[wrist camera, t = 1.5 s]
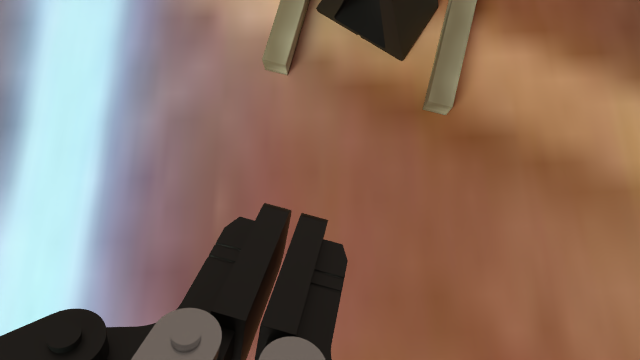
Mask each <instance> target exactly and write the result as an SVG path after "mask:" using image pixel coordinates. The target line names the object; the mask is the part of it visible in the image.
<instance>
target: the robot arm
mask: <svg viewBox="0 0 640 360" xmlns="http://www.w3.org/2000/svg"><path fill="white" fill-rule="evenodd" d="M290 217H291V210H288V209H285V208H281V207H277V206H274V205H270V204H266V203H264V204H263V206H262V208H261V210H260V212H259V214H258V216H257V218H256V220H255V221H254V220H250V219H246V218H243V217H239V218H237V219H236V220H234V221H233V222H232V223H230V224H229V225H227V226H226V227H225V228H224V230H223V231H222V233H221V235H220V237H219V238H218V240H217V242H216V245H214V247H213V249H212V251H211V252H210V254H209V257H208V258H207V259H206V261H205V263H204V265H203V266H202V268H201V270H200V272H199V273H198V275H197V277H196V279H195V280H194V282H193V284H192V285H191V287H190V289H189V291H188V292H187V294H186V296H185V298H184V299H183V301H182V303H181V304H180V306H179V307H178V308H177V309H176V310H175V311H172V312H170V313H168V314H166V315H165V316H163V317H162V318H161V319H160V320H159V321H158V322H157V323H154V324H151V325H146V326H139V327H106V326H105V323H104V321H103V320H102V318H101V317H100V316H99V315H97V314H96V313H94V312H92V311H89V310H85V309H67V310H63V311H59V312H56V313H54V314H51V315H49V316H46V317H44V318H42V319H39V320H37V321H35V322H32V323H30V324H28V325H26V326H23V327H21V328H19V329H16V330H14V331H12V332H9V333H7V334H5V335H2V336H0V360H246V358H247V356H248V353H249V350H250V348H251V345H252V342H253V339H254V337H255V334H256V331H257V329H258V326H259V323H260V320H261V318H262V315H263V312H264V310H265V307H266V304H267V301H268V299H269V296H270V293H271V291H272V288H273V285H274V282H275V280H276V277H277V274H278V271H279V268H280V265H281V262H282V258H283V254H284V249H285V244H286V238H287V233H288V228H289V223H290ZM327 222H328V220H326V219H322V218H319V217H315V216H311V215H307V214H304V213H301V216H300V218H299V221H298V224H297V226H296V229H295V232H294V235H293V237H292V240H291V243H290V246H289V248H288V251H287V254H286V257H285V259H284V262H283V265H282V268H281V270H280V273H279V276H278V279H277V281H276V284H275V287H274V290H273V292H272V295H271V298H270V301H269V303H268V306H267V309H266V312H265V314H264V317H263V320H262V323H261V326H260V332H259V338H258V343H257V349H256V355H255V360H332V359H331V343H332V338H333V333H334V328H335V323H336V318H337V312H338V307H339V302H340V297H341V292H342V287H343V282H344V277H345V271H346V266H347V258H346V254H345V251H344V248H343V245H342V244H339V243H335V242H331V241H328V240H324V239H323V238H324V234H325V230H326V226H327Z"/></svg>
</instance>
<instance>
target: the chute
mask: <svg viewBox="0 0 640 360" xmlns="http://www.w3.org/2000/svg"><path fill="white" fill-rule="evenodd" d="M309 2H310V0H281V1H280V4H279V7H278V10H277V13H276V17H275V20H274V23H273V26H272V30H271V33H270V36H269V39H268V42H267V46H266V49H265V52H264V55H263V58H262V60H263V64H264V67H265V70H269V71H273V72H277V73H281V74H285V75H288V72H289V68H290V65H291V62H292V58H293V55H294V52H295V48H296V45H297V42H298V38H299V35H300V32H301V28H302V25H303V22H304V18H305V15H306V12H307V8H308V5H309ZM476 2H477V0H449V2H448V6H447V10H446V14H445V18H444V22H443V27H442V31H441V35H440V39H439V43H438V47H437V52H436V56H435V60H434V64H433V68H432V72H431V77H430V81H429V85H428V89H427V93H426V97H425V102H424V106H423V110H427V111H431V112H435V113H439V114H443V115H446V114H447V113H448V112H449V111H450V110H451V108H452V107H453V103H454V99H455V94H456V90H457V85H458V81H459V77H460V72H461V68H462V63H463V59H464V55H465V50H466V46H467V41H468V37H469V33H470V28H471V24H472V19H473V15H474V11H475V6H476Z"/></svg>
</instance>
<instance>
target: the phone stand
mask: <svg viewBox="0 0 640 360" xmlns="http://www.w3.org/2000/svg"><path fill="white" fill-rule="evenodd" d="M437 8H438V0H322V1H321V2H320V3H319V5H318V6H317V8H316V9H317V11H318V12H319V13H321V14H323V15H325V16H326V17H328V18H330V19H331V20H333V21H335V22H336V23H338V24H340V25H341V26H343V27H345V28H346V29H348V30H350V31H351V32H353V33H355V34H356V35H360V36H361V38H363V39H365V40H367V41H368V42H370V43H372V44H373V45H375V46H377V47H378V48H380V49H382V50H383V51H385V52H387V53H388V54H390V55H392V56H393V57H395V58H397V59H398V60H401V61H403V60H404V58H405V56H406V55H407V53H408V52H409V50H410V49H411V47H412V46H413V44H414V43H415V41H416V40H417V38H418V37H419V35H420V34H421V32H422V31H423V29H424V28H425V26H426V25H427V23H428V22H429V20H430V19H431V17H432V15H433V14H434V12H435V11H436V9H437Z"/></svg>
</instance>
